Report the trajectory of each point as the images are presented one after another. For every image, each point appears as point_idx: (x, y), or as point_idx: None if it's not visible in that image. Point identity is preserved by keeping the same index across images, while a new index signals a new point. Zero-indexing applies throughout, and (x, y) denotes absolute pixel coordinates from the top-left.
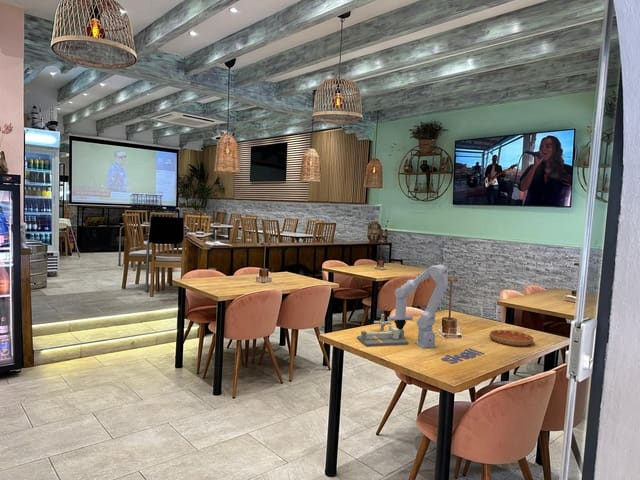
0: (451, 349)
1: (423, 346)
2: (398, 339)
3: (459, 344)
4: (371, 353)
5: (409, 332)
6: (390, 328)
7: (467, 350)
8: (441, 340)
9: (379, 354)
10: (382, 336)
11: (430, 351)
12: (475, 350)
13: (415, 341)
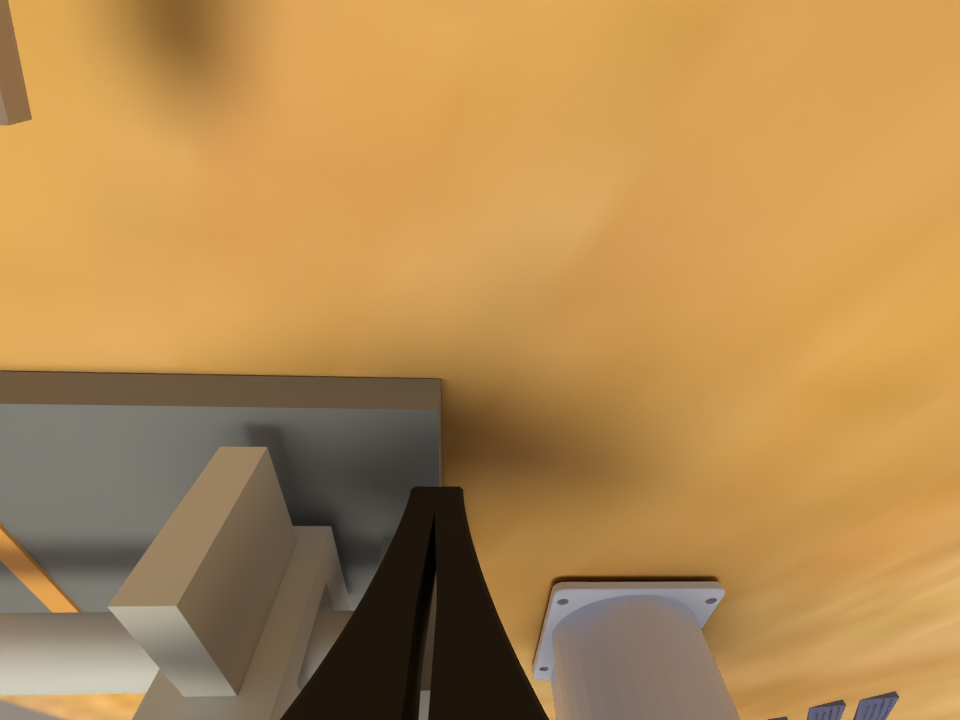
0: (743, 692)
1: (547, 674)
2: (350, 588)
3: (950, 639)
4: (22, 702)
5: (951, 111)
6: (147, 693)
7: (828, 715)
8: (936, 556)
9: (96, 714)
10: (103, 476)
11: (543, 704)
12: (881, 717)
13: (569, 590)
